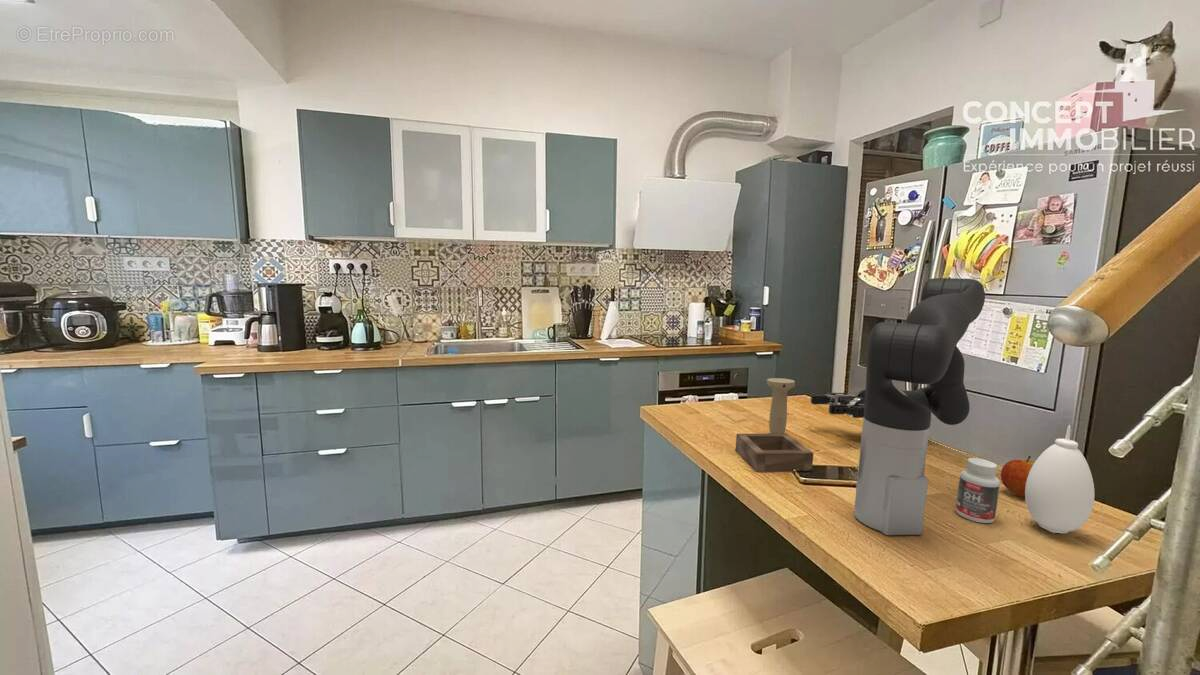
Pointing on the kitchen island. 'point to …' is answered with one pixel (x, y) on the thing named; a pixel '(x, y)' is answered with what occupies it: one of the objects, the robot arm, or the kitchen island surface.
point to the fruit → (1016, 475)
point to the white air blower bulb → (1060, 487)
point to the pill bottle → (978, 491)
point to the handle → (779, 403)
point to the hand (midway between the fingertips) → (820, 404)
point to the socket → (773, 452)
